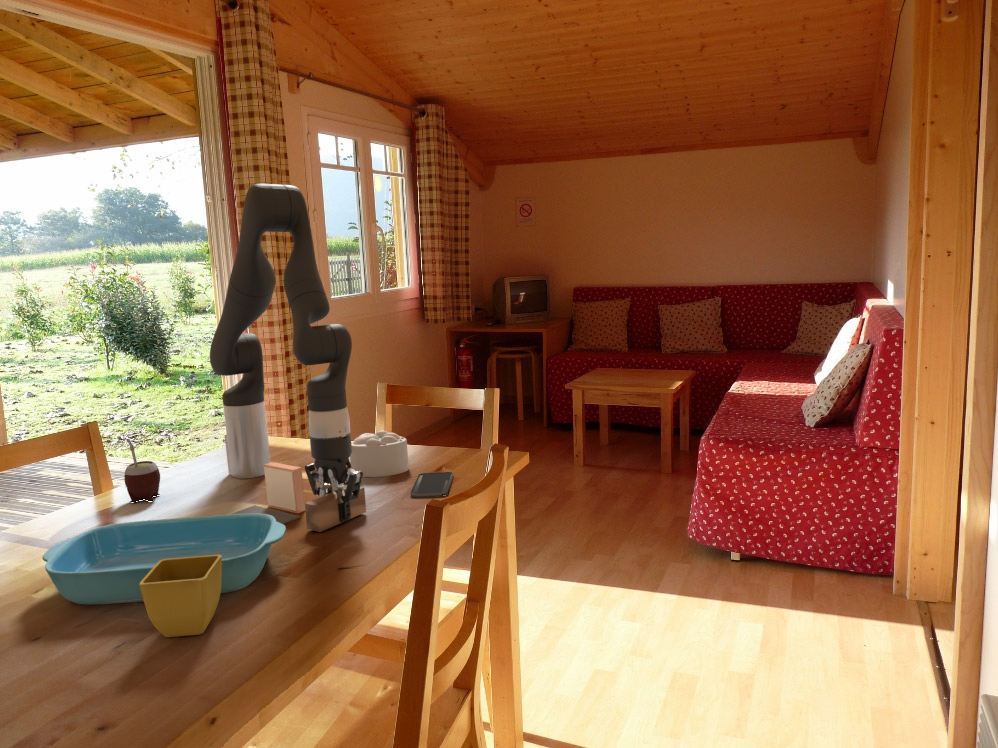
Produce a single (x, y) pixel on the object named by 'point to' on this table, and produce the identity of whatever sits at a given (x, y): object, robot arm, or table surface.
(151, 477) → the mate gourd
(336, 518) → the bar
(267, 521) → the casserole dish
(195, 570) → the flower pot
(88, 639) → the table surface
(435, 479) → the phone
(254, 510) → the mat
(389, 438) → the lumpy-topped squat cylinder
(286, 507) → the tile
